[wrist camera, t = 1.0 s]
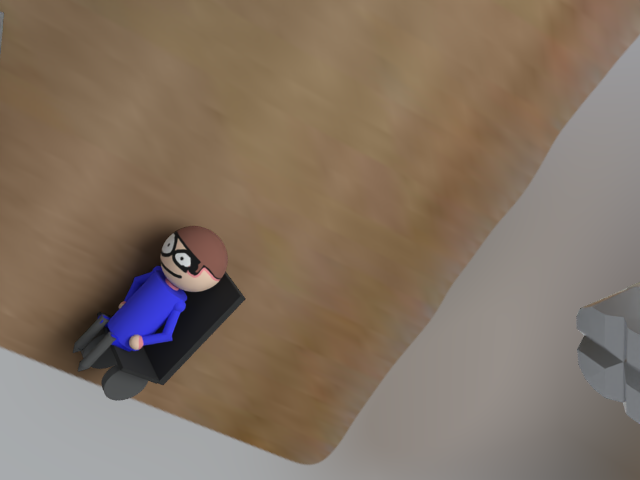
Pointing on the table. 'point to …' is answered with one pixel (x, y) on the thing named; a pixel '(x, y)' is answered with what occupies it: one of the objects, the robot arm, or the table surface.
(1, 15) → the board
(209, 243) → the character figurine
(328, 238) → the table surface
